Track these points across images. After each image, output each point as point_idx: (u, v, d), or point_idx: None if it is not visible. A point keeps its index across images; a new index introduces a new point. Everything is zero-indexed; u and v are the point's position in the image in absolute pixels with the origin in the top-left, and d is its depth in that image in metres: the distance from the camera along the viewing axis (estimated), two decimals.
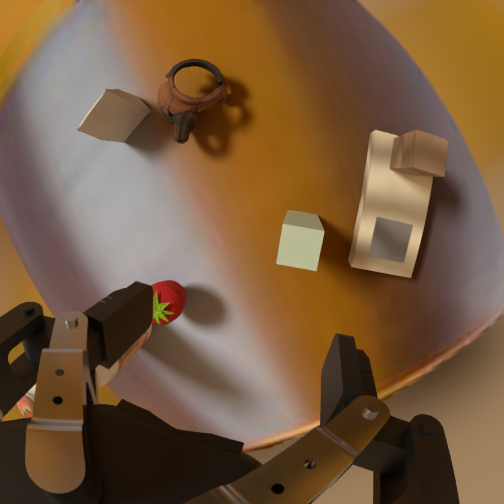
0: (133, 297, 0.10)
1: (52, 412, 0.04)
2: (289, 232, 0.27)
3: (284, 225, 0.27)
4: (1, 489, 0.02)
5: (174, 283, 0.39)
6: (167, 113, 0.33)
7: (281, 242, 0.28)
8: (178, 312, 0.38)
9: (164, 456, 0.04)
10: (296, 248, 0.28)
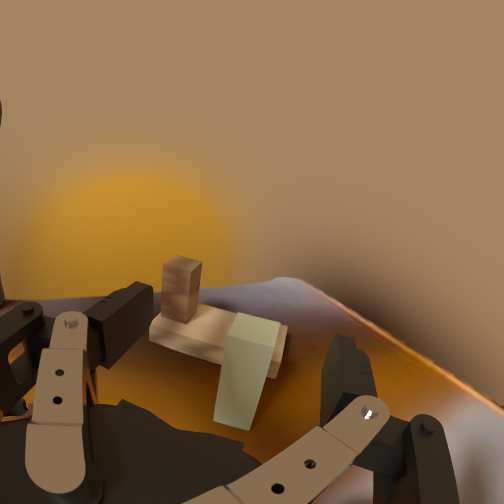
0: (133, 297, 0.10)
1: (52, 412, 0.04)
2: (237, 332, 0.23)
3: (228, 334, 0.23)
4: (1, 489, 0.02)
5: None
6: None
7: (248, 339, 0.23)
8: None
9: (164, 456, 0.04)
10: (256, 331, 0.24)
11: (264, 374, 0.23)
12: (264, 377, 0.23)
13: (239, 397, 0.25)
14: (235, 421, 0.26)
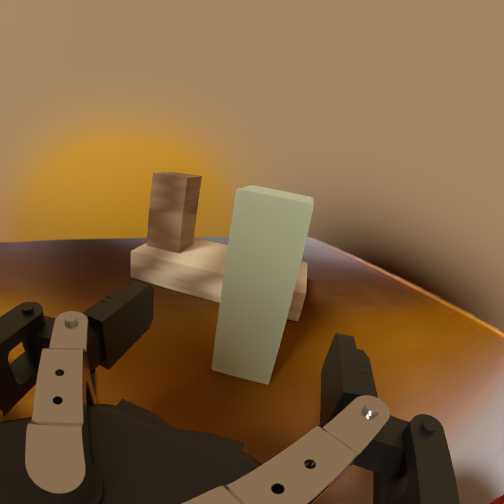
0: (133, 297, 0.10)
1: (52, 412, 0.04)
2: (253, 190, 0.15)
3: (240, 189, 0.15)
4: (1, 489, 0.02)
5: None
6: None
7: (271, 195, 0.15)
8: None
9: (164, 456, 0.04)
10: (281, 194, 0.16)
11: (297, 263, 0.15)
12: (297, 268, 0.15)
13: (255, 315, 0.16)
14: (246, 367, 0.18)
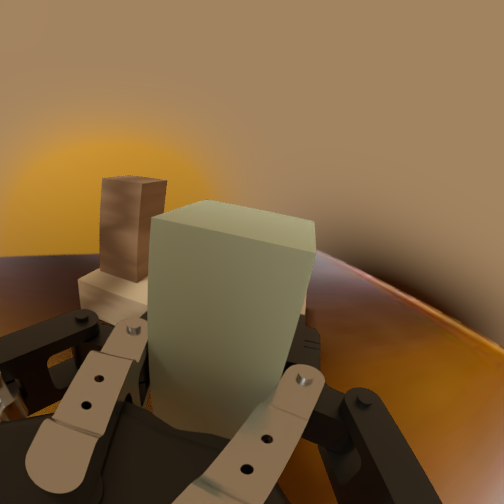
0: None
1: (75, 415, 0.04)
2: (189, 217, 0.07)
3: (159, 216, 0.07)
4: None
5: None
6: None
7: (222, 230, 0.07)
8: None
9: (164, 456, 0.04)
10: (250, 222, 0.08)
11: (278, 364, 0.07)
12: (277, 373, 0.07)
13: (208, 426, 0.09)
14: None
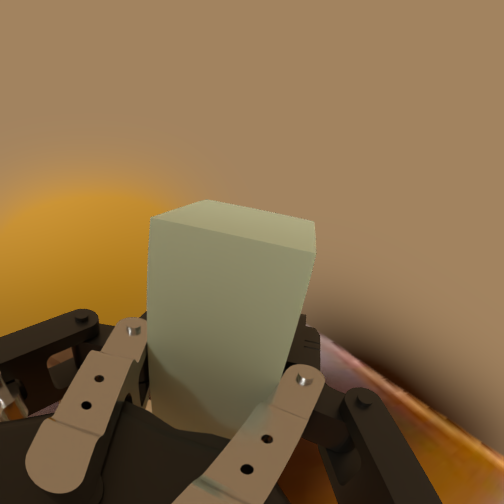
0: None
1: (75, 415, 0.04)
2: (188, 217, 0.07)
3: (158, 216, 0.07)
4: None
5: None
6: None
7: (221, 230, 0.07)
8: None
9: (164, 456, 0.04)
10: (250, 222, 0.08)
11: (279, 365, 0.07)
12: (277, 374, 0.07)
13: (207, 427, 0.09)
14: None
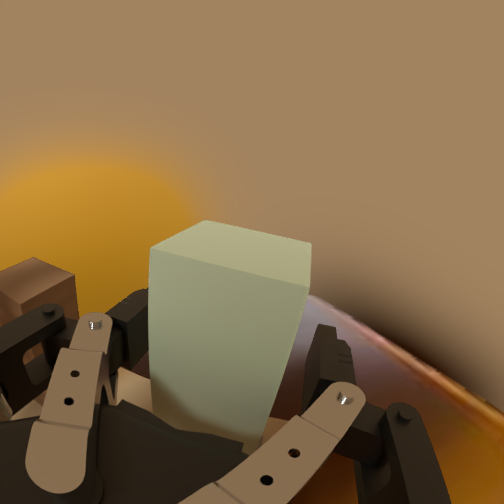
0: None
1: (61, 412, 0.04)
2: (187, 246, 0.08)
3: (158, 246, 0.07)
4: None
5: None
6: None
7: (219, 262, 0.07)
8: None
9: (164, 456, 0.04)
10: (247, 249, 0.08)
11: (273, 386, 0.07)
12: (272, 394, 0.07)
13: None
14: None
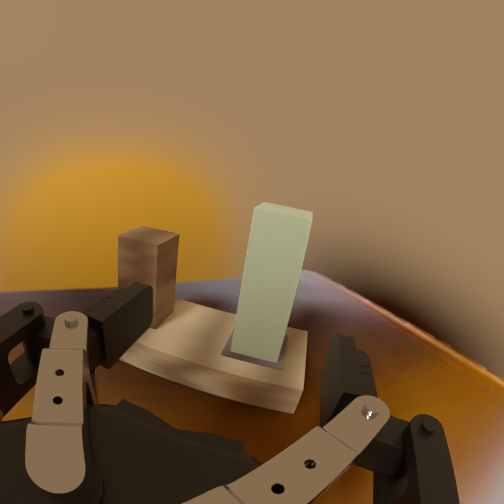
0: (133, 297, 0.10)
1: (52, 412, 0.04)
2: (266, 208, 0.20)
3: (256, 208, 0.20)
4: (1, 489, 0.02)
5: None
6: None
7: (280, 213, 0.19)
8: None
9: (164, 456, 0.04)
10: (287, 211, 0.21)
11: (300, 264, 0.20)
12: (299, 268, 0.20)
13: (267, 305, 0.21)
14: (259, 348, 0.22)
